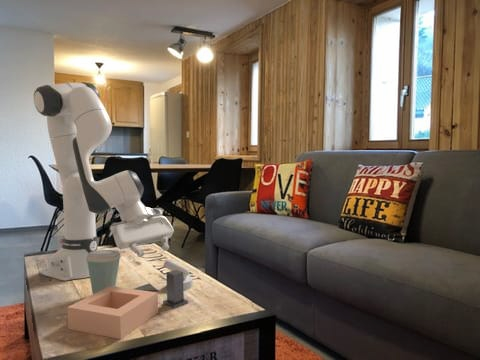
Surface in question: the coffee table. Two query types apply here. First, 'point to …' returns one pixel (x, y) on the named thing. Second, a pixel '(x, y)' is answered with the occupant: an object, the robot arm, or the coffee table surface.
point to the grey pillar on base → (175, 290)
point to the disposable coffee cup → (103, 268)
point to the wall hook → (175, 266)
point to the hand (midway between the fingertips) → (154, 252)
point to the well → (113, 311)
